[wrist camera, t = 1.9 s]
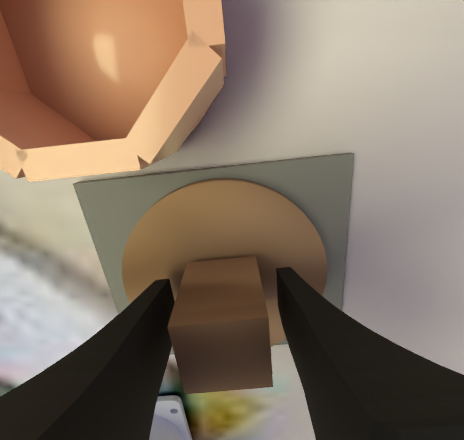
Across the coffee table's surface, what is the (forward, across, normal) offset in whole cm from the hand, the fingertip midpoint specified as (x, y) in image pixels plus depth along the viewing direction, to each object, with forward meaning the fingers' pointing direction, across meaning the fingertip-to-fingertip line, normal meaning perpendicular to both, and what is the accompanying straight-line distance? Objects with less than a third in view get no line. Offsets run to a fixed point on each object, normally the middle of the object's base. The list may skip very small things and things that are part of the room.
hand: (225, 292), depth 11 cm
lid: (+2, 0, 0) cm, 2 cm away
